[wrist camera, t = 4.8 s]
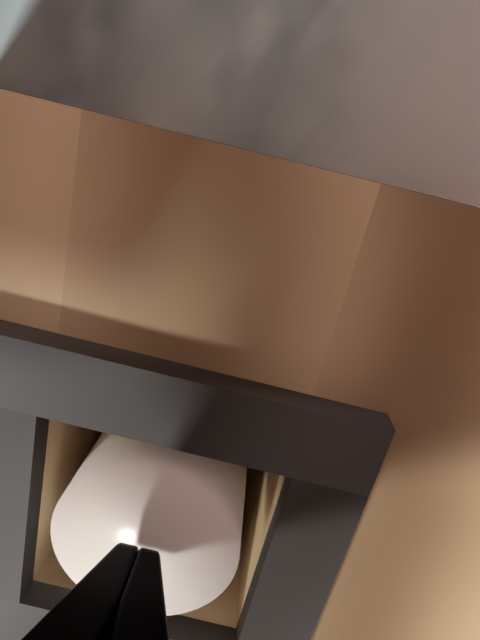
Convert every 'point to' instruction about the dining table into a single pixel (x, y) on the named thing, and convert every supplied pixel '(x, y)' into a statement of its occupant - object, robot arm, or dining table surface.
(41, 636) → the robot arm
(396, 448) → the socket block
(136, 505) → the dowel
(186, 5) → the dining table surface
